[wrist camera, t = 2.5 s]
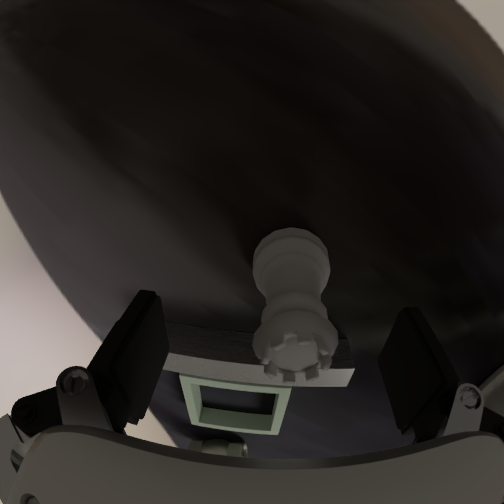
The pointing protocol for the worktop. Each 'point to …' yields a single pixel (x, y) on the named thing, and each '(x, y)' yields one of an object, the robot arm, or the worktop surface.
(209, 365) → the door edge rail
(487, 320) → the worktop surface
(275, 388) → the socket
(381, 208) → the worktop surface
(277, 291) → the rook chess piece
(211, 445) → the valve
